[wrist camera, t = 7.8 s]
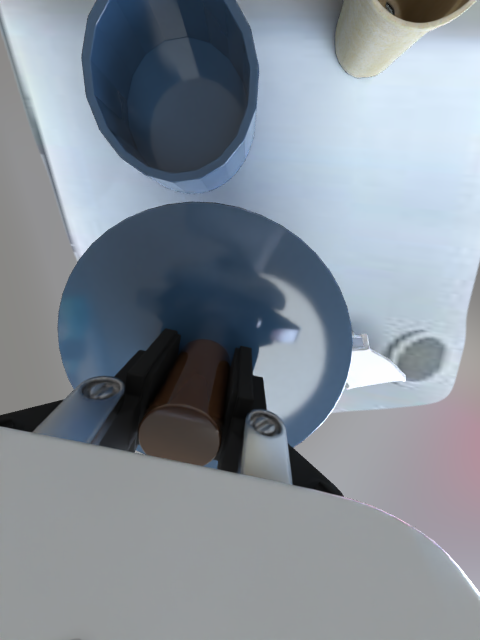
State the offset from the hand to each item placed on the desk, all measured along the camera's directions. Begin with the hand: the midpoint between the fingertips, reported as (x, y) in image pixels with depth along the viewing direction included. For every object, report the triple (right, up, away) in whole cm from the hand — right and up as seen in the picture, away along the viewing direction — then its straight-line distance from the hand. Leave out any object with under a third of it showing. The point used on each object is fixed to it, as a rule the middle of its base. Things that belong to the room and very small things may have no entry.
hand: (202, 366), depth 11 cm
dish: (-3, +23, +13) cm, 26 cm away
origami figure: (+17, -2, +22) cm, 28 cm away
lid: (0, 0, +1) cm, 1 cm away
